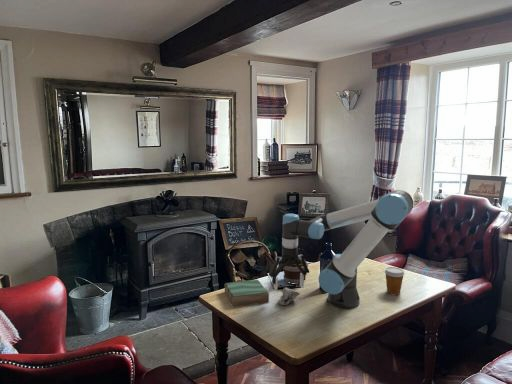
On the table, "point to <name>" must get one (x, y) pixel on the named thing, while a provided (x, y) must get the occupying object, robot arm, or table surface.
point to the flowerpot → (293, 272)
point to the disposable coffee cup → (394, 280)
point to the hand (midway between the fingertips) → (288, 288)
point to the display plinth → (246, 293)
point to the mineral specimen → (288, 296)
